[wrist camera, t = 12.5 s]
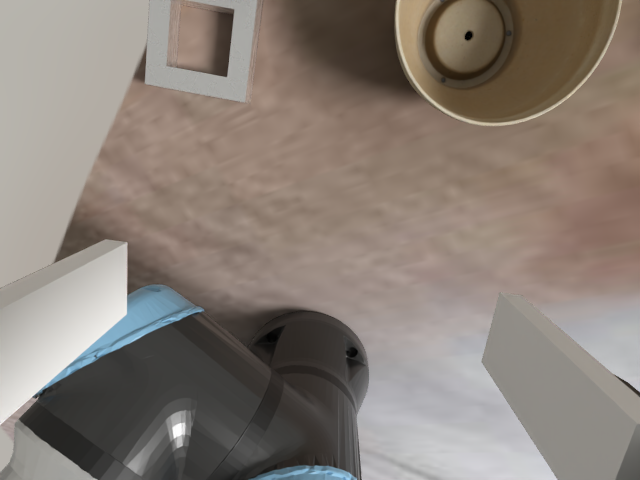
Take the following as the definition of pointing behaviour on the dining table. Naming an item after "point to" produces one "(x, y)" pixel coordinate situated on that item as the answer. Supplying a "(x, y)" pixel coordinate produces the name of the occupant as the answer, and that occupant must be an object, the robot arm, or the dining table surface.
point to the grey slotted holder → (164, 73)
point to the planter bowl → (501, 53)
